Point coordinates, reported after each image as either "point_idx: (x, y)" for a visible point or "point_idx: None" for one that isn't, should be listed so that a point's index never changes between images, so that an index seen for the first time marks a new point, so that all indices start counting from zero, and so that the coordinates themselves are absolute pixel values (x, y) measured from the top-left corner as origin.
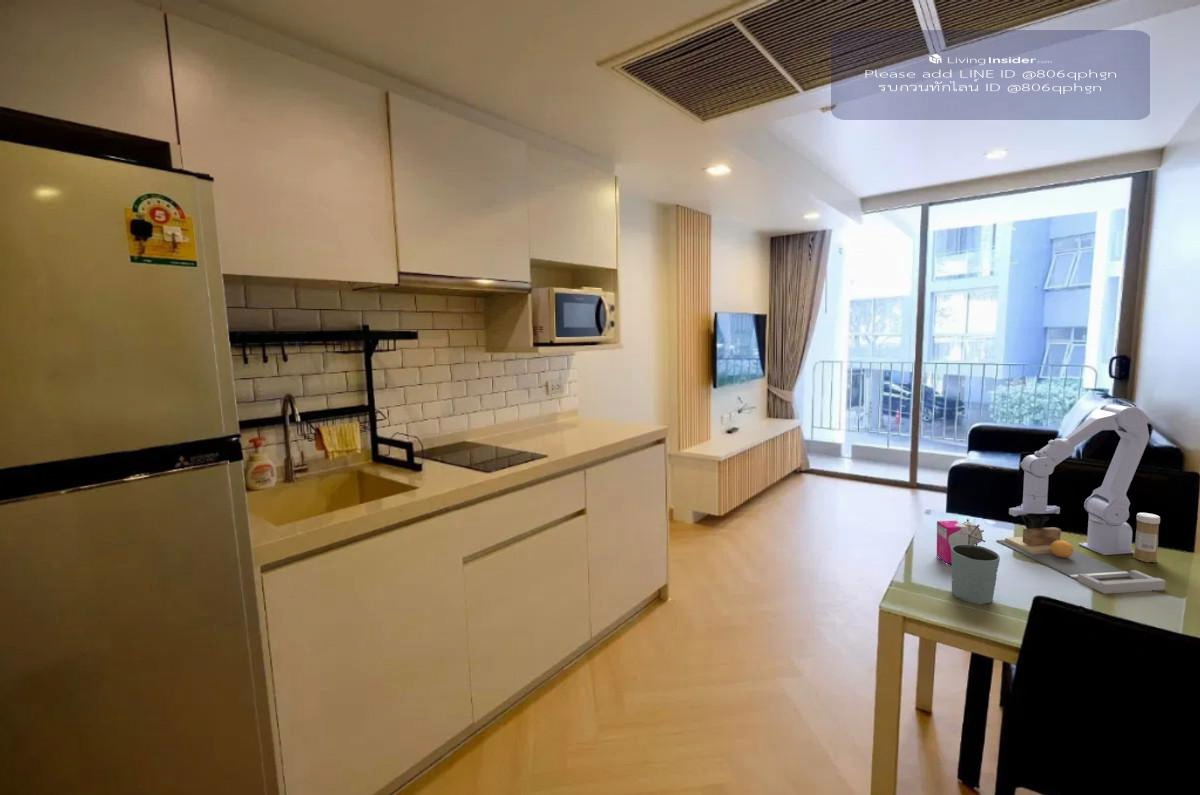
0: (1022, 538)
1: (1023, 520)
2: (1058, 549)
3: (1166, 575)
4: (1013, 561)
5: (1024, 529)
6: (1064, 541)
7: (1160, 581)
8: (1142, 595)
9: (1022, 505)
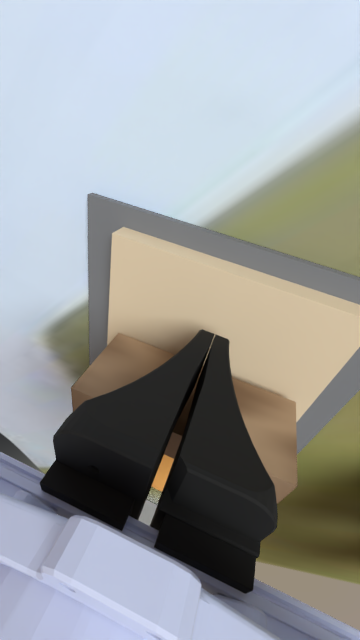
0: (196, 289)
1: (133, 383)
2: None
3: (316, 557)
4: (25, 346)
5: (73, 393)
6: (160, 490)
7: None
8: None
9: (18, 568)
